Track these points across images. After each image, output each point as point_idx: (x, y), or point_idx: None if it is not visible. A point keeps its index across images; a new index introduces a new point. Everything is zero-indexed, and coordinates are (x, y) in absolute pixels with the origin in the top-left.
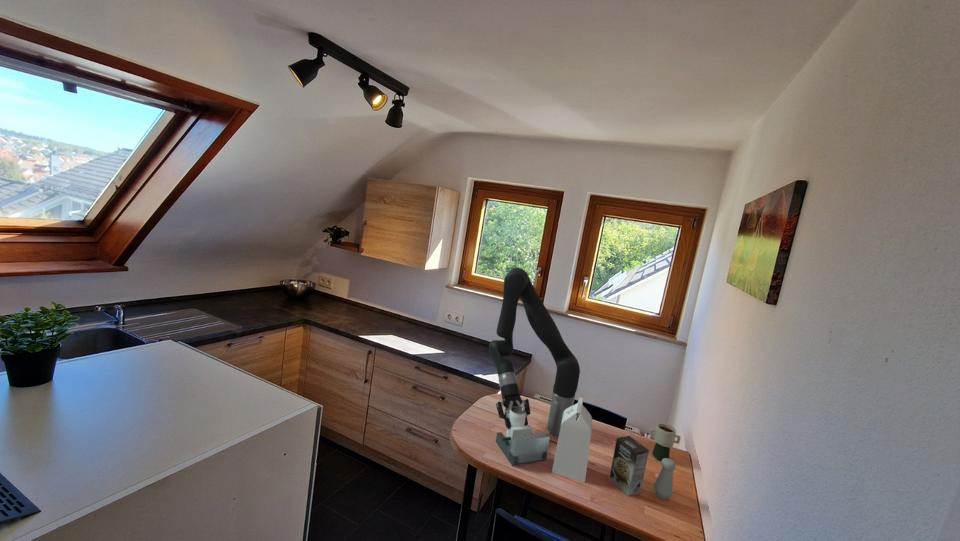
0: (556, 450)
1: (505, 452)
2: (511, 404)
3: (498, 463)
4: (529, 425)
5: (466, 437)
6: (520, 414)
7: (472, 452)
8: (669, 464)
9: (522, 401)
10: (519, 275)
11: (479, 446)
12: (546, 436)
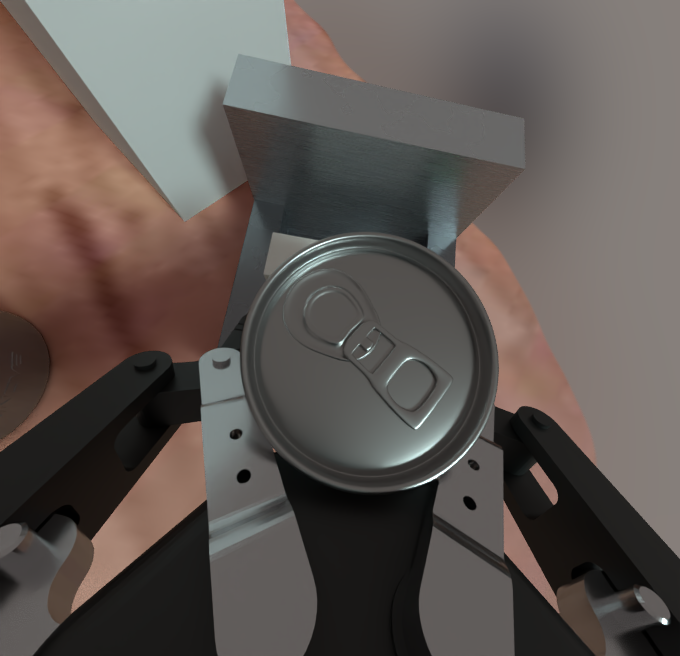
0: (282, 10)
1: None
2: (460, 544)
3: (480, 266)
4: (265, 269)
5: (555, 499)
6: (395, 247)
7: (560, 371)
8: None
9: (30, 651)
10: None
11: (515, 401)
12: (262, 66)
